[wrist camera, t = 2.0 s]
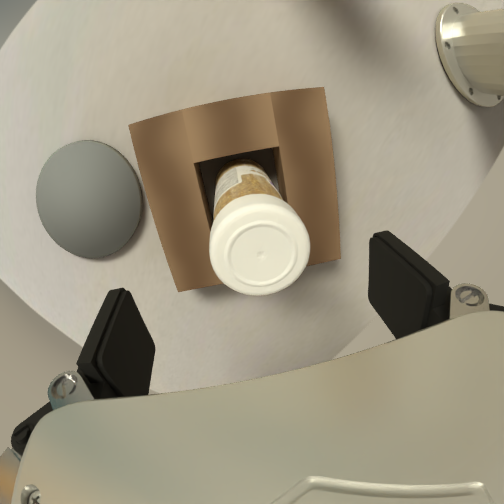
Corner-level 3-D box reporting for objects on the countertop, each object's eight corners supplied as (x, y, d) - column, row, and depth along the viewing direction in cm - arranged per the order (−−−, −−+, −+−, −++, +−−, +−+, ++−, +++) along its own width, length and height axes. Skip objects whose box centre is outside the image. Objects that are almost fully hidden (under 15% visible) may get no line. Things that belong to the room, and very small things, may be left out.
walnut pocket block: (310, 90, 22) (323, 87, 19) (327, 241, 28) (340, 258, 25) (140, 123, 22) (128, 125, 19) (182, 271, 28) (178, 292, 25)
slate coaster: (124, 123, 21) (121, 123, 21) (157, 241, 26) (155, 244, 26) (27, 163, 21) (23, 165, 21) (63, 263, 26) (60, 267, 26)
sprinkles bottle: (278, 183, 25) (332, 253, 13) (241, 219, 26) (260, 315, 14) (240, 146, 24) (263, 182, 12) (202, 184, 25) (186, 259, 13)
